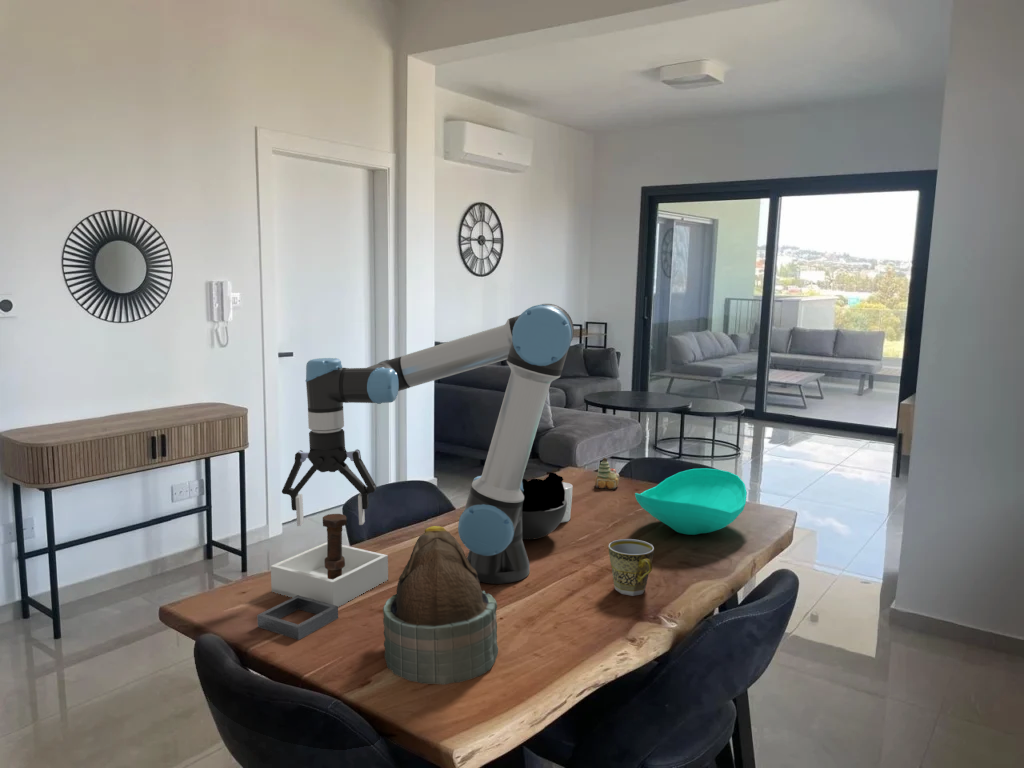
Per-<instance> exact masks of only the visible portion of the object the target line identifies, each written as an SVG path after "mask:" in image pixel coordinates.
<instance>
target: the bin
mask: <svg viewBox="0 0 1024 768" xmlns="http://www.w3.org/2000/svg"><path fill="white" fill-rule="evenodd" d="M327 543H328V542H327V541H326V542H324V543H322V544H320V545H317V546H314V547H312V548H310V549H307V550H305V551H302V552H300V553H298V554H296V555H293V556H290V557H289V558H286V559H284V560H282V561H278V562H276V563H274V564H272V565H270V582H271V587H270V588H271V592H272V593H273V592H275V593H274V594H277V593H278V595H280V594H281V596H284V595H286V596H285V597H287V596H288V597H287V598H291V597H292V598H293V597H295V596H297V595H299V596H303V597H306V598H310V599H314V600H317V601H321V602H324V603H328V604H331V605H335V606H338V608H340V607H341V605H342V606H344V605H345V604H347V603H348V601H349V602H351V601H352V599H353V600H355V599H356V598H358V597H360V596H362V595H364V594H366V593H367V592H366V591H368V590H369V591H371V590H373V589H375V588H377V587H379V586H380V585H379V584H381V583H382V584H384V583H386V582H388V581H389V555H388V554H383V553H380V552H375V551H370V550H367V549H363V548H358V547H353V546H349V545H345V544H342V556H343V557H344V558H345V566H344V567H343V568H342V575H341V576H339V577H337V578H335V579H333V580H332V579H328V577H327V575H328V574H327V572H328V571H327V569H326V568H325V558H326V557H327V546H328V545H327ZM387 580H388V581H387ZM385 581H386V582H385ZM383 582H384V583H383ZM382 584H381V585H382ZM378 585H379V586H378ZM376 586H377V587H376ZM374 587H375V588H374ZM372 588H373V589H372ZM370 589H371V590H370ZM369 591H368V592H369ZM365 592H366V593H365ZM363 593H364V594H363ZM361 594H362V595H361ZM359 595H360V596H359ZM357 596H358V597H357ZM355 597H356V598H355ZM354 598H355V599H354ZM350 600H351V601H350ZM339 606H340V607H339Z"/></svg>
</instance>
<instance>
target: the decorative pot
mask: <svg viewBox="0 0 1024 768" xmlns="http://www.w3.org/2000/svg"><path fill="white" fill-rule="evenodd" d="M477 575H478V574H477V572H476V570H475V569H474V568H473V567H472V566H471V564H470V563H469V561H468V559H467V556H466V552H464V550H463V548H462V546H461V544H459V542H458V540H457V539H456V538H455V536H453V535H452V534H451V533H450V532H449V531H448V530H446V528H445V527H443V526H439V525H431V526H429V527H426V528H425V529H424V532H423V534H421V535H420V536H419V537H418V538H417V540H416V542H415V544H414V546H413V548H412V551H411V554H410V557H409V559H408V561H407V563H406V565H405V566H404V568H403V571H402V572H401V574H400V575H399V578H398V582H397V586H396V594H393V595H392V596H391V597H389V598H388V599H386V601H385V603H384V605H383V607H382V614H383V618H382V619H383V628H384V629H383V635H384V642H383V647H384V650H385V651H384V660H385V662H386V667H387V668H388V670H390V671H391V672H392V673H393V675H396V676H397V677H401V678H403V679H405V680H407V681H409V682H413V683H414V682H417V683H418V684H419V683H420V684H427V685H434V684H435V685H448V684H453V683H462V682H465V681H468V680H472V679H476V678H477V677H480V676H482V675H485V673H488V672H489V671H490V670H491V669H492V667H493V665H494V664H495V662H496V659H497V657H498V654H499V647H498V633H497V630H498V623H497V622H498V621H497V610H498V609H497V608H498V602H497V600H496V599H495V597H493V595H492V594H490V593H489V592H488V593H486V591H485V590H482V587H481V585H480V584H481V582H479V580H478V577H477ZM487 671H488V672H487Z"/></svg>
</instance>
